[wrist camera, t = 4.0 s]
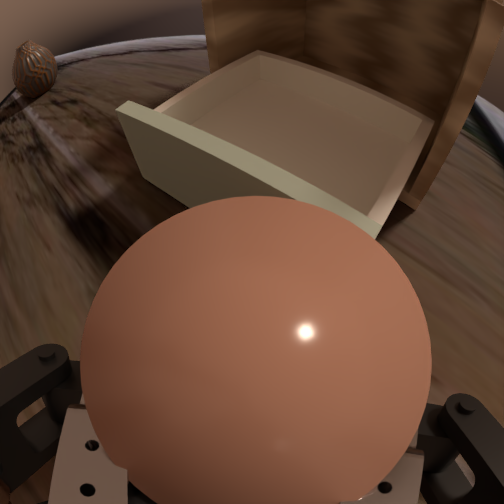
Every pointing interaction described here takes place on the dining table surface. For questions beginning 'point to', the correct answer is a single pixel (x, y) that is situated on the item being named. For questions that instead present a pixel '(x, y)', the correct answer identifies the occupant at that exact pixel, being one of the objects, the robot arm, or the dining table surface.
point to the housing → (375, 54)
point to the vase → (33, 69)
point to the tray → (280, 139)
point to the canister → (255, 357)
